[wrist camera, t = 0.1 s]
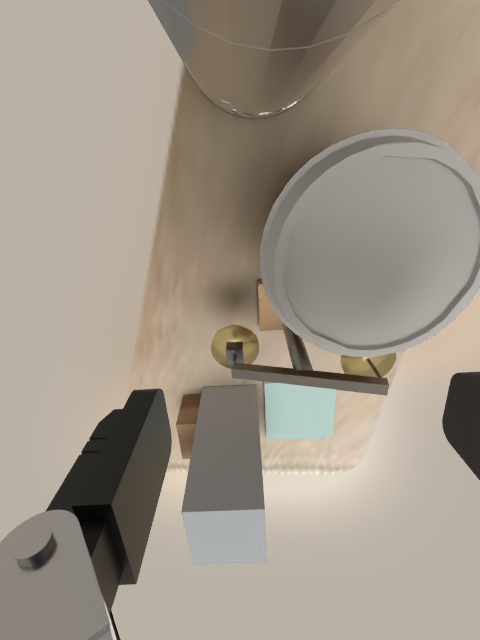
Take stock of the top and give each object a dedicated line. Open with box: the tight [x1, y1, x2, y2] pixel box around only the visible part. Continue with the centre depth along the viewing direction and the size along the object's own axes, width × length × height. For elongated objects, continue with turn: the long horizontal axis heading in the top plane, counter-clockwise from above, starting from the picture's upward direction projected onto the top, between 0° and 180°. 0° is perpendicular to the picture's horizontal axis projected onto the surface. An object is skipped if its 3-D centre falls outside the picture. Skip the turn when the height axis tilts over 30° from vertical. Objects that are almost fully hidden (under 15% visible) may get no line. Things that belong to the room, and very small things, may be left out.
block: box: [176, 394, 201, 459], centre depth 30 cm, size 4×4×4 cm
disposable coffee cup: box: [259, 128, 480, 357], centre depth 18 cm, size 10×10×12 cm
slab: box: [264, 381, 336, 441], centre depth 31 cm, size 7×6×1 cm
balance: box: [211, 280, 396, 395], centre depth 21 cm, size 4×11×12 cm, turn 93°
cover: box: [182, 385, 267, 565], centre depth 26 cm, size 6×5×12 cm
